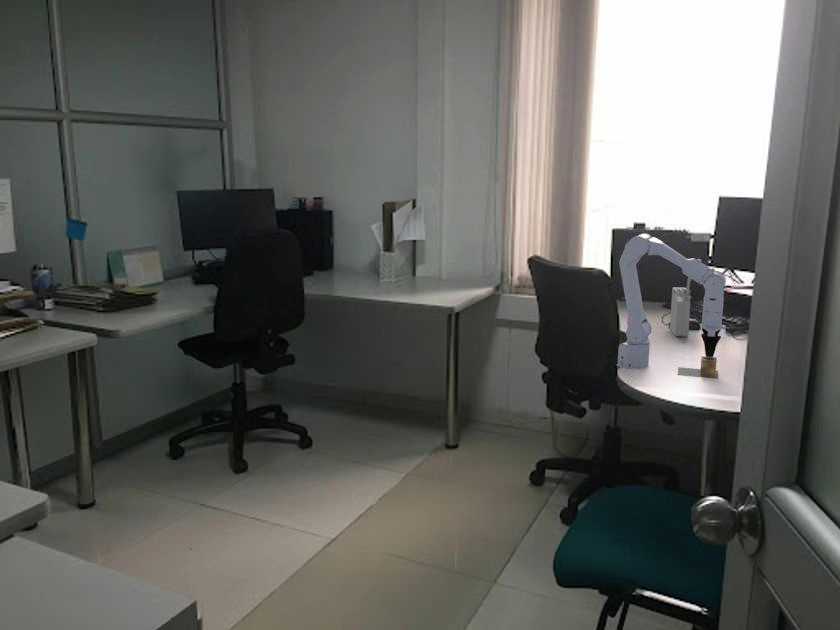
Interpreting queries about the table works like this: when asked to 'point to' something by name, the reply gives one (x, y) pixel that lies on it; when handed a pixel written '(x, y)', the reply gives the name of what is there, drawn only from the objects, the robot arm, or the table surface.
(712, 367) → the hollow block
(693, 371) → the pin plate
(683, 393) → the table surface
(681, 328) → the fuel canister
